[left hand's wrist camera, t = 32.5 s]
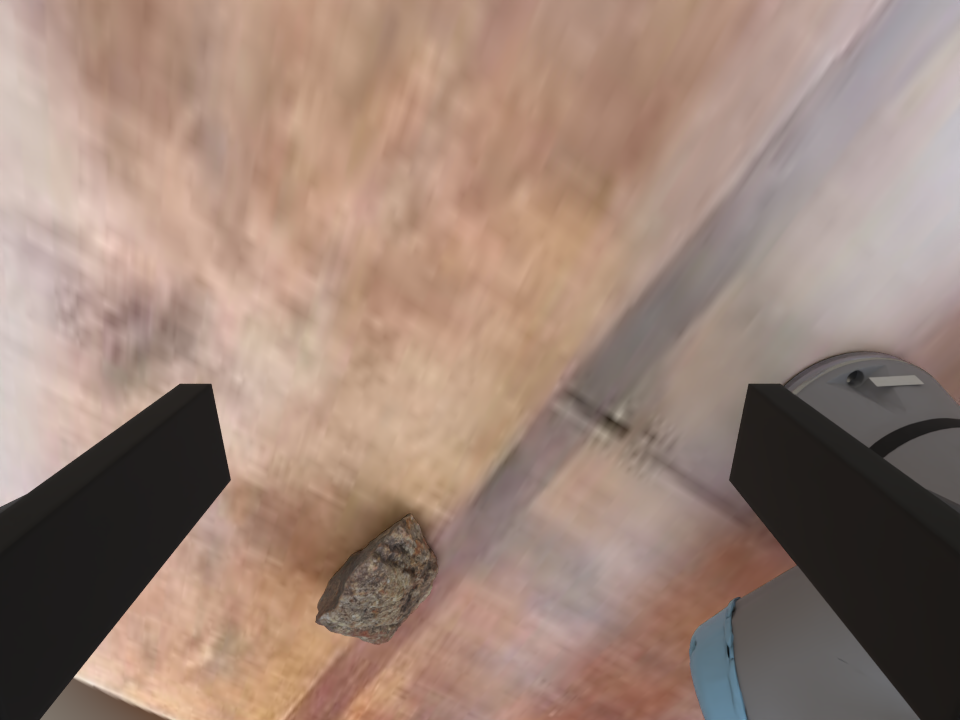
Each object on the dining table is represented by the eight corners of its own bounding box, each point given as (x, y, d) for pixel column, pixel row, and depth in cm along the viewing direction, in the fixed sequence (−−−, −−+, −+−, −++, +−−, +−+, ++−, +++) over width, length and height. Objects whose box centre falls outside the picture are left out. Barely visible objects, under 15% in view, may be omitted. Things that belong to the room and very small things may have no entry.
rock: (304, 568, 52) (379, 621, 54) (267, 646, 44) (356, 703, 46) (397, 489, 47) (474, 551, 49) (374, 561, 39) (467, 629, 42)
